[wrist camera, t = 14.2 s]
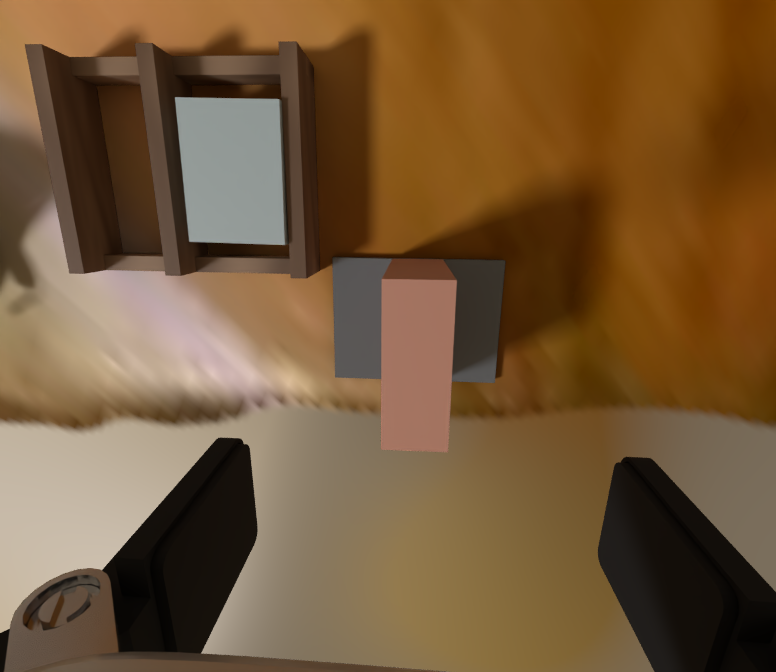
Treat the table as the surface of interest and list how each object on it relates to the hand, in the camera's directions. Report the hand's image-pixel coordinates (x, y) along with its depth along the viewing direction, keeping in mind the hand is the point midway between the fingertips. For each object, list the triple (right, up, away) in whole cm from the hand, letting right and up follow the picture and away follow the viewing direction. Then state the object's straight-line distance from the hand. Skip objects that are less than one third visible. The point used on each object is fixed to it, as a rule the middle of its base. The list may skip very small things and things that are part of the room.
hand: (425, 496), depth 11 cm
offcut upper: (-10, +14, +16) cm, 24 cm away
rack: (-14, +15, +18) cm, 27 cm away
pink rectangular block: (+1, +5, +20) cm, 20 cm away
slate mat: (+1, +5, +20) cm, 21 cm away
